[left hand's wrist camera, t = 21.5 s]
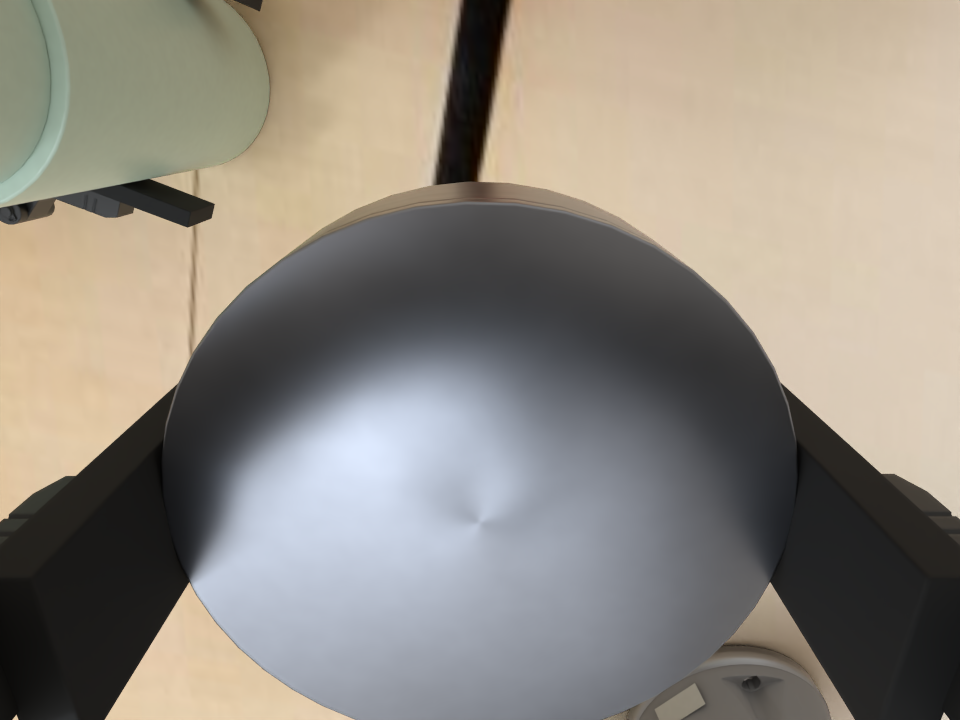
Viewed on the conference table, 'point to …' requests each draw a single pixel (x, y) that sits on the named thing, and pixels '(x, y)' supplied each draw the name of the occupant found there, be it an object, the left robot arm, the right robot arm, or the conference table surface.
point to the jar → (122, 92)
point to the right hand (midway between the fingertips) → (224, 112)
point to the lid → (479, 462)
